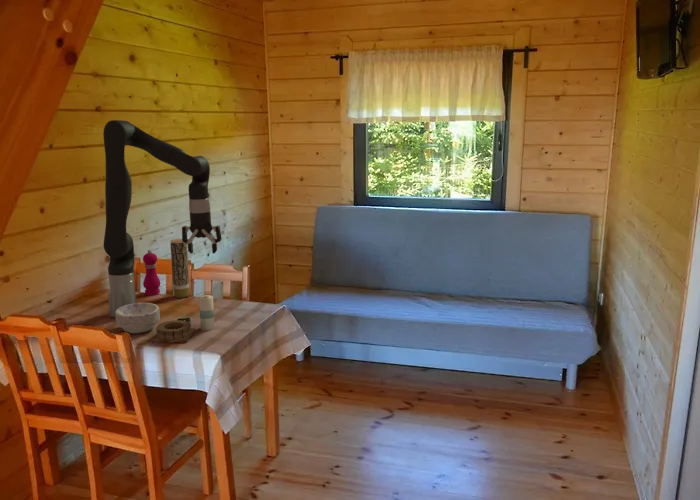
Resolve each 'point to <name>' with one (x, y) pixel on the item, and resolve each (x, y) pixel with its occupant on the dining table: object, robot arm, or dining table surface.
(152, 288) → the pepper mill
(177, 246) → the bark covered cylinder
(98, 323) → the dining table surface
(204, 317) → the roll
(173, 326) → the holder
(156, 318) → the paper bowls
